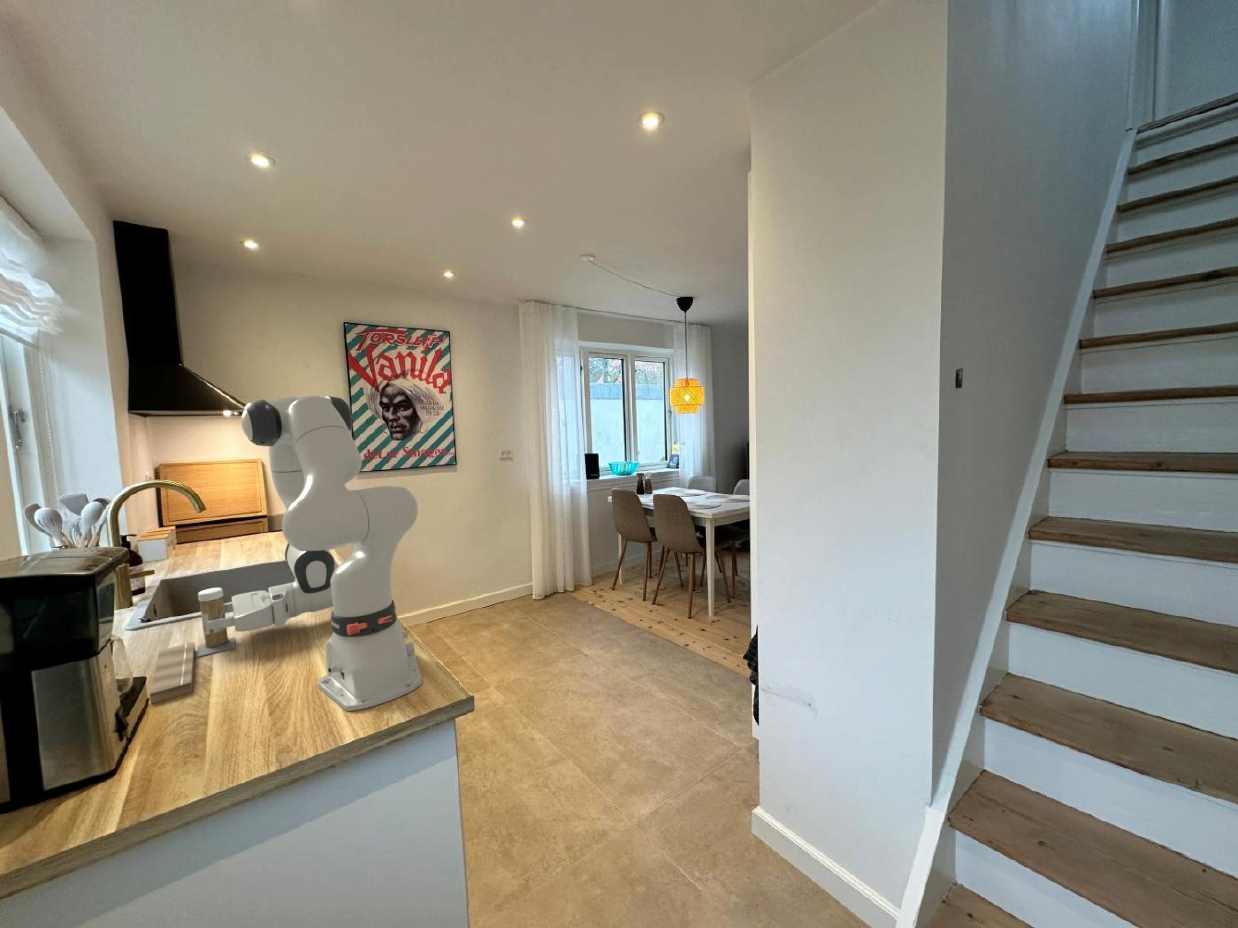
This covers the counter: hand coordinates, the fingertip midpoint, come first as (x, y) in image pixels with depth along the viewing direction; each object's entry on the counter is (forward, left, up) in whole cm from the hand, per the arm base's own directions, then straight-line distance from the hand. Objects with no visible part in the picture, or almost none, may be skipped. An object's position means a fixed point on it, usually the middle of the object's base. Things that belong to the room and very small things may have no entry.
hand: (208, 618), depth 116 cm
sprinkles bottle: (+2, -1, -7) cm, 8 cm away
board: (-10, +6, -7) cm, 14 cm away
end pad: (0, -1, -7) cm, 8 cm away
